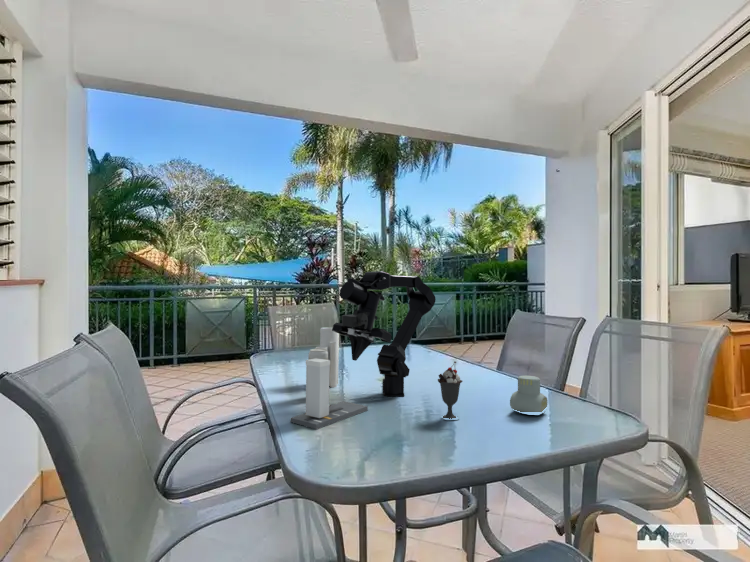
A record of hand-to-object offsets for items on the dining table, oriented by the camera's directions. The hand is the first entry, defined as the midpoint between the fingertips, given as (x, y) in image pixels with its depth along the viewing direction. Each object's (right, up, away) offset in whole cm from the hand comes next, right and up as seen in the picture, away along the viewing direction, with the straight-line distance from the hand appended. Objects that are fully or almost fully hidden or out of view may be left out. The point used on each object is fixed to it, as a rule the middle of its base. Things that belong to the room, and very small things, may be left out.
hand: (354, 360), depth 131 cm
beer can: (-12, -13, +7) cm, 19 cm away
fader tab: (-9, -11, -17) cm, 22 cm away
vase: (-11, -14, +25) cm, 30 cm away
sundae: (+26, -13, -13) cm, 32 cm away
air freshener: (+49, -14, -8) cm, 52 cm away
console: (-6, -13, -12) cm, 19 cm away
